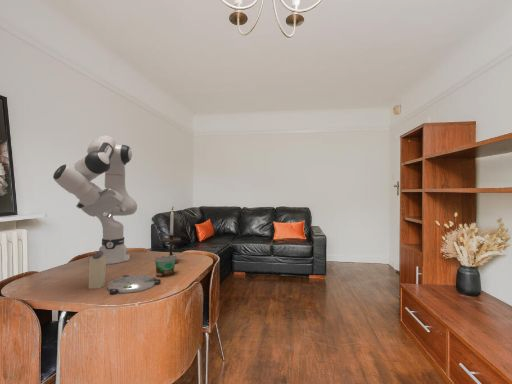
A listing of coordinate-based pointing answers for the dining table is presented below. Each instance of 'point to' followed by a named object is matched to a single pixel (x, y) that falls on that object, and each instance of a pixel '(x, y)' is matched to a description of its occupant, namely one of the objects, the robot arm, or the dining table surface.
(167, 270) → the food container
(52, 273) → the dining table surface
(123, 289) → the levelling base
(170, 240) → the candlestick
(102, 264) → the cream bottle
